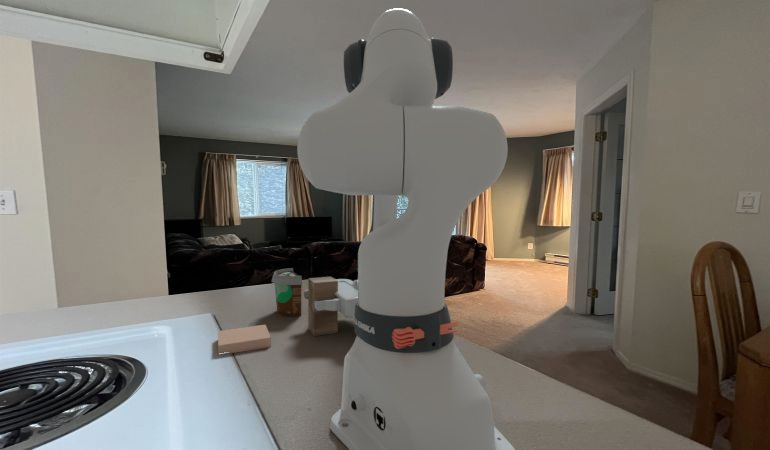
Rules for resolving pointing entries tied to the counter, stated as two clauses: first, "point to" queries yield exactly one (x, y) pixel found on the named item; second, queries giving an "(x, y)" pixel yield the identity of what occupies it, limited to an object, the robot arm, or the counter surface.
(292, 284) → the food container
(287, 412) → the counter surface
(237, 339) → the tile
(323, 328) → the block
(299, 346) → the counter surface
